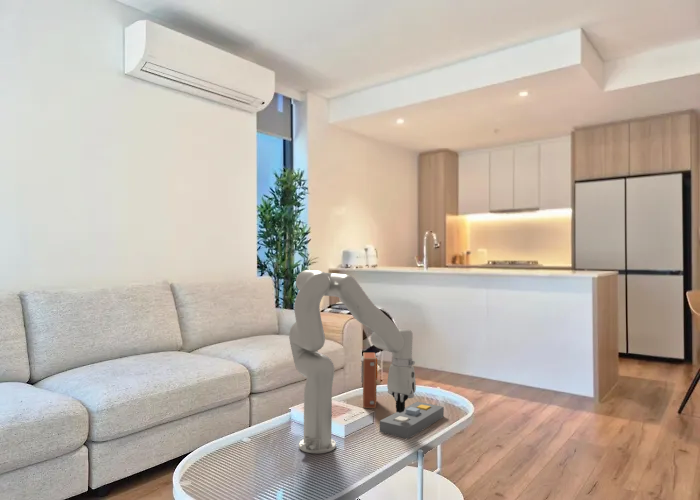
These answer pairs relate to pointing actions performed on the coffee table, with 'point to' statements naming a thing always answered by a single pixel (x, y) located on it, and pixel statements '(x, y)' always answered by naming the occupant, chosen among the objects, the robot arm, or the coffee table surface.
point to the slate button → (413, 411)
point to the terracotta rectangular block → (369, 379)
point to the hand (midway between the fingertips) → (400, 411)
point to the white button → (401, 419)
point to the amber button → (423, 407)
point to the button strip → (411, 421)
